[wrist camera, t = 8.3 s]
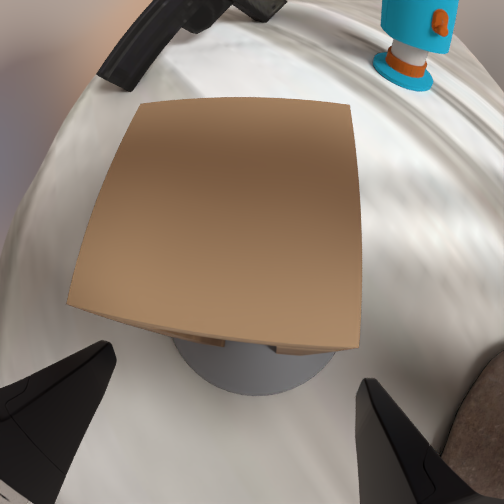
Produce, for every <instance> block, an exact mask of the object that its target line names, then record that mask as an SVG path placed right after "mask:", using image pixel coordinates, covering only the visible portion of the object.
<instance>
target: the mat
mask: <svg viewBox="0 0 504 504" xmlns="http://www.w3.org/2000/svg"><path fill="white" fill-rule="evenodd" d="M172 338H173V340H174V343H175V345H176V347H177V349H178V351H179V352H180V354H181V356H182V357H183V358H184V360H185V361H186V362H187V364H188V365H189V366H190V367H191V368H192V369H193V370H194V371H195V372H196V373H197V374H198V375H199V376H201V377H202V378H203V379H205V380H206V381H208V382H209V383H211V384H213V385H215V386H216V387H219V388H221V389H224V390H226V391H229V392H233V393H237V394H241V395H250V396H264V395H272V394H277V393H281V392H284V391H287V390H291V389H293V388H295V387H297V386H299V385H301V384H303V383H305V382H306V381H308V380H309V379H311V378H312V377H314V376H315V375H316V374H317V373H318V372H319V371H320V370H321V369H323V368H324V366H325V365H326V364H327V363H328V362H329V361H330V359H331V358H332V356H333V355H334V353H335V352H336V351H335V352H328V353H320V354H312V355H304V356H296V355H284V354H276V350H277V346H271V345H262V344H253V343H245V342H237V341H229V340H225V346H224V347H218V346H211V345H205V344H199V343H195V342H191V341H187V340H183V339H179V338H175V337H172Z"/></svg>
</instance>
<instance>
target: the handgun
mask: <svg viewBox="0 0 504 504" xmlns="http://www.w3.org/2000/svg"><path fill="white" fill-rule="evenodd" d="M286 3H287V1H286V0H153V1H152V2H151V3H150V5H149V6H148V7H147V8H146V9H145V10H144V11H143V12H142V14H141V15H140V16H139V17H138V18H137V20H136V21H135V22H134V23H133V24H132V25H131V27H130V28H129V29H128V30H127V32H126V33H125V34H124V36H123V37H122V38H121V39H120V41H119V42H118V43H117V45H116V46H115V47H114V49H113V50H112V52H111V53H110V54H109V56H108V57H107V59H106V60H105V62H104V63H103V65H102V66H101V68H100V69H99V71H98V72H97V74H96V75H98V76H99V77H101V78H103V79H105V80H107V81H109V82H111V83H113V84H115V85H117V86H119V87H121V88H123V89H125V90H127V91H129V92H131V91H133V89H134V88H135V86H136V85H137V83H138V82H139V81H140V79H141V78H142V76H143V75H144V74H145V72H146V71H147V70H148V68H149V67H150V65H151V64H152V63H153V61H154V60H155V59H156V58H157V56H158V55H159V54H160V52H161V51H162V50H163V49H164V47H165V46H166V45H167V44H168V43H169V41H170V40H171V39H172V38H173V37H174V35H175V34H176V33H177V32H178V31H179V30H180V28H181V27H182V28H184V29H186V30H187V31H189V32H191V33H195V34H198V33H200V32H202V31H204V30H205V29H207V28H209V27H211V26H212V25H213V23H214V22H215V21H216V20H217V19H218V18H219V17H220V16H221V15H222V14H223V13H224V12H225V11H226V10H227V9H228V8H229V7H230V6H231V5H233V6H235V7H236V8H238V9H239V10H241V11H242V12H244V13H245V14H247V15H248V16H249V17H251V18H252V19H254V20H257V21H261V22H264V23H266V22H267V21H268V20H269V19H270V18H271V17H272V16H273V15H274V14H275V13H276V12H278V11H279V10H280V9H281V8H282V7H283V6H284V5H285V4H286Z"/></svg>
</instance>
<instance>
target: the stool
mask: <svg viewBox="0 0 504 504" xmlns="http://www.w3.org/2000/svg"><path fill="white" fill-rule="evenodd" d="M361 299H362V232H361V208H360V192H359V179H358V167H357V157H356V148H355V139H354V131H353V124H352V117H351V110H350V105H347V104H339V103H331V102H322V101H312V100H300V99H285V98H261V97H221V98H197V99H182V100H170V101H160V102H151V103H143V104H140V106H139V108H138V110H137V112H136V114H135V115H134V117H133V119H132V121H131V123H130V125H129V127H128V129H127V131H126V133H125V135H124V137H123V139H122V141H121V143H120V146H119V148H118V150H117V152H116V154H115V157H114V159H113V161H112V163H111V166H110V168H109V170H108V173H107V175H106V177H105V180H104V182H103V185H102V187H101V190H100V193H99V195H98V198H97V200H96V203H95V206H94V209H93V211H92V214H91V217H90V220H89V223H88V226H87V229H86V232H85V235H84V238H83V242H82V245H81V248H80V252H79V255H78V259H77V262H76V266H75V270H74V273H73V277H72V281H71V286H70V290H69V294H68V299H67V303H66V304H68V305H70V306H73V307H76V308H79V309H82V310H84V311H87V312H90V313H93V314H96V315H99V316H102V317H105V318H108V319H111V320H115V321H118V322H121V323H124V324H128V325H131V326H134V327H138V328H141V329H145V330H148V331H152V332H156V333H159V334H163V335H167V336H171V337H175V338H179V339H183V340H187V341H191V342H195V343H199V344H205V345H211V346H218V347H224V346H225V340H229V341H237V342H245V343H253V344H262V345H271V346H277V350H276V354H284V355H296V356H304V355H312V354H320V353H328V352H335V351H341V350H348V349H354V348H359V339H360V322H361Z"/></svg>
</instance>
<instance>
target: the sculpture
mask: <svg viewBox="0 0 504 504" xmlns="http://www.w3.org/2000/svg"><path fill="white" fill-rule="evenodd" d="M441 458H442V459H443V460H444V462H445V463H446V464H447V465H448V466H449V467H450V468H451V469H452V470H453V471H454V472H455V473H456V474H457V475H458V476H459V477H461V478H462V479H463V480H464V481H465V482H466V483H467V484H468V485H469V486H470V487H471V488H472V489H473V490H475V491H476V492H478V493H480V494H482V495H484V496H488V497H494V498H500V499H504V351H502V352H501V353H500V354H499V355H497V356H496V357H494V358H493V359H492V360H491V361H490V362H489V364H488V365H487V366H486V367H485V369H484V370H483V372H482V373H481V374H480V376H479V377H478V379H477V380H476V382H475V383H474V384H473V386H472V387H471V388H470V391H469V392H468V394H467V396H466V398H465V399H464V401H463V402H462V405H461V407H460V409H459V410H458V413H457V414H456V418H455V421H454V423H453V424H452V428H451V430H450V434H449V438H448V440H447V442H446V445H445V448H444V450H443V453H442V456H441Z"/></svg>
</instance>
